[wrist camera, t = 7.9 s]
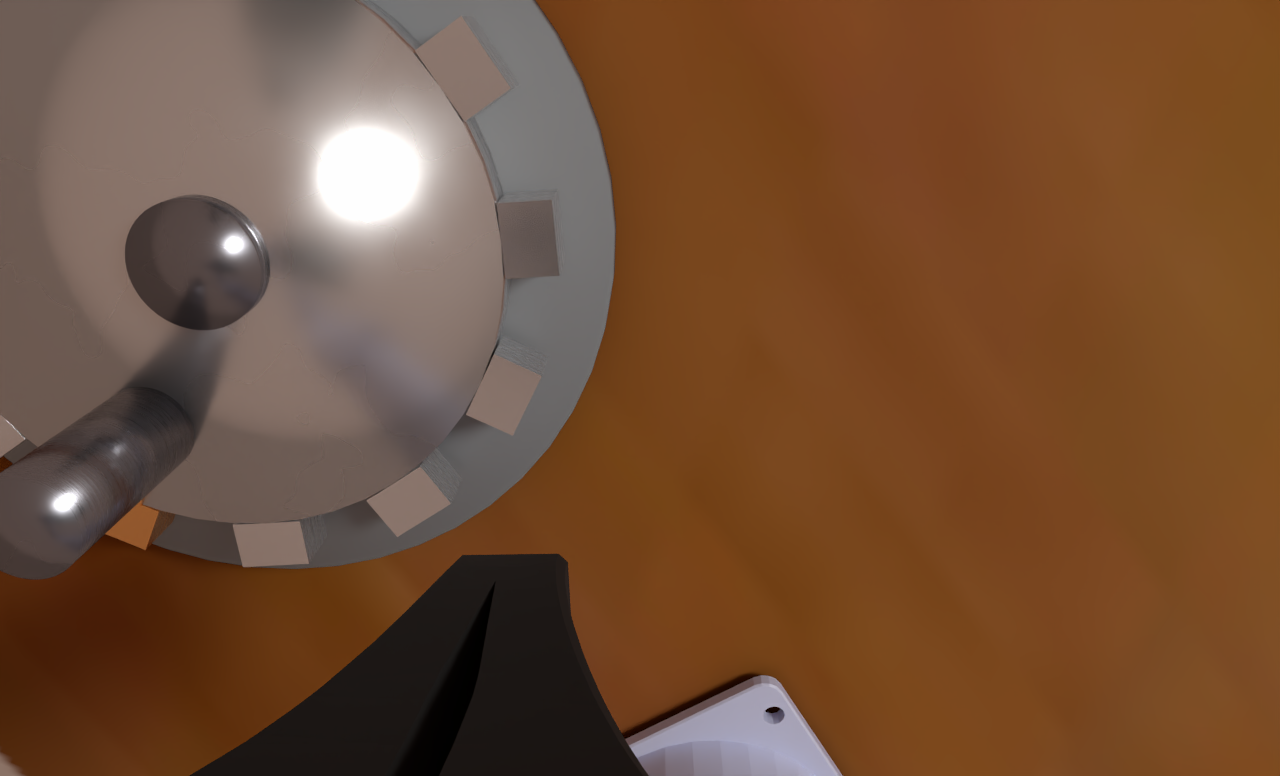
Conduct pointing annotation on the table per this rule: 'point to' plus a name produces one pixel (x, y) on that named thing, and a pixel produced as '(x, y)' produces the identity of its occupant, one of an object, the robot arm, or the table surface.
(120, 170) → the sprocket
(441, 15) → the sprocket base
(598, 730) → the robot arm
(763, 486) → the table surface
